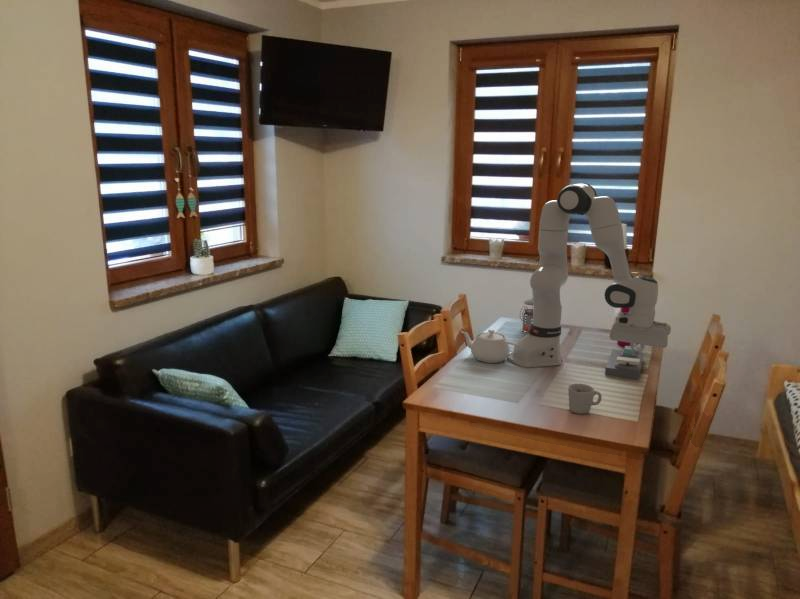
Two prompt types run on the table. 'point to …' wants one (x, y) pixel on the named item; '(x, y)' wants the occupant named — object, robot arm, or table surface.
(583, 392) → the cup
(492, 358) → the teapot
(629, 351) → the push button
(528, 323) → the french press
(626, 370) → the control panel
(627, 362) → the rocker switch
